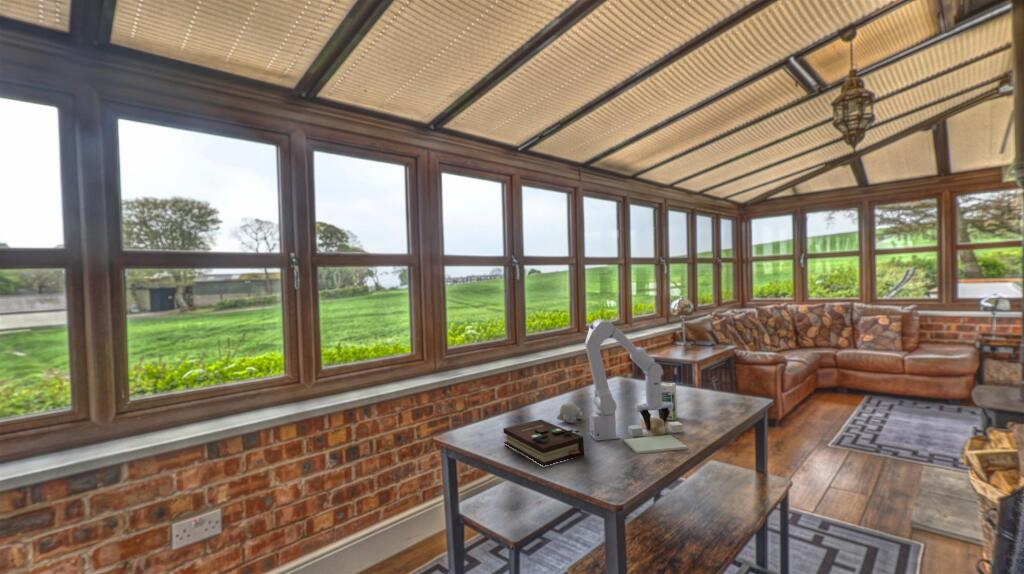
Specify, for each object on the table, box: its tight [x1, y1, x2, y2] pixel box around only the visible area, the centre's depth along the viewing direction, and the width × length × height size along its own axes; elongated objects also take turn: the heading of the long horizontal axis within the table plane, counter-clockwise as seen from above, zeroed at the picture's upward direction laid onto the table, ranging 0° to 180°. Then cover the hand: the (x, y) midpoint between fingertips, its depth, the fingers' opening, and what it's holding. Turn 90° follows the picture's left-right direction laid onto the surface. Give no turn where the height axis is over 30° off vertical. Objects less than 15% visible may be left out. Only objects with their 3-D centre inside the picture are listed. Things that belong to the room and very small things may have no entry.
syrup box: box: [661, 381, 678, 422], centre depth 188 cm, size 6×6×14 cm
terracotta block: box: [640, 418, 646, 430], centre depth 178 cm, size 4×4×3 cm
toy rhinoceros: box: [556, 401, 583, 424], centre depth 190 cm, size 7×12×8 cm, turn 124°
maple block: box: [645, 416, 666, 436], centre depth 171 cm, size 5×5×5 cm
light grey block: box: [667, 420, 684, 434], centre depth 172 cm, size 4×4×3 cm
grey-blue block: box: [627, 424, 644, 438], centre depth 170 cm, size 4×4×3 cm
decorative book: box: [502, 419, 585, 466], centre depth 159 cm, size 19×8×30 cm
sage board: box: [622, 434, 688, 455], centre depth 159 cm, size 18×12×1 cm, turn 97°
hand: (655, 428), depth 171 cm, fingers closed on maple block, 5 cm apart
